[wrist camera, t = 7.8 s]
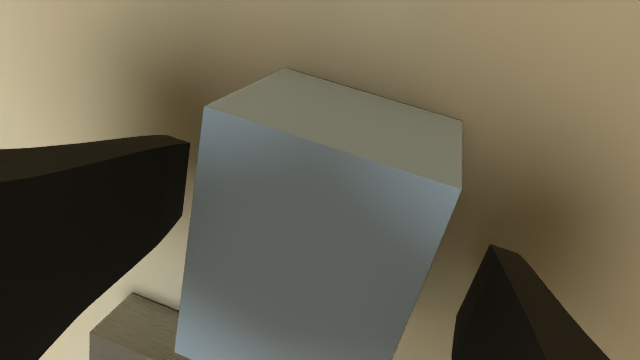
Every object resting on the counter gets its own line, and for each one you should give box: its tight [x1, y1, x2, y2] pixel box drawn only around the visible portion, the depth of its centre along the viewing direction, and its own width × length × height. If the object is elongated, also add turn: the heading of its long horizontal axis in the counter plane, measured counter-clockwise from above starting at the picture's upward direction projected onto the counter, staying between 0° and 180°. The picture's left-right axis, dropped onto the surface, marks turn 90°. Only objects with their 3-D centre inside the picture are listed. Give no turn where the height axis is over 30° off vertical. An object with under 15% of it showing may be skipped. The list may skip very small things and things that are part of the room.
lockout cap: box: [174, 68, 462, 360], centre depth 11 cm, size 4×6×4 cm
